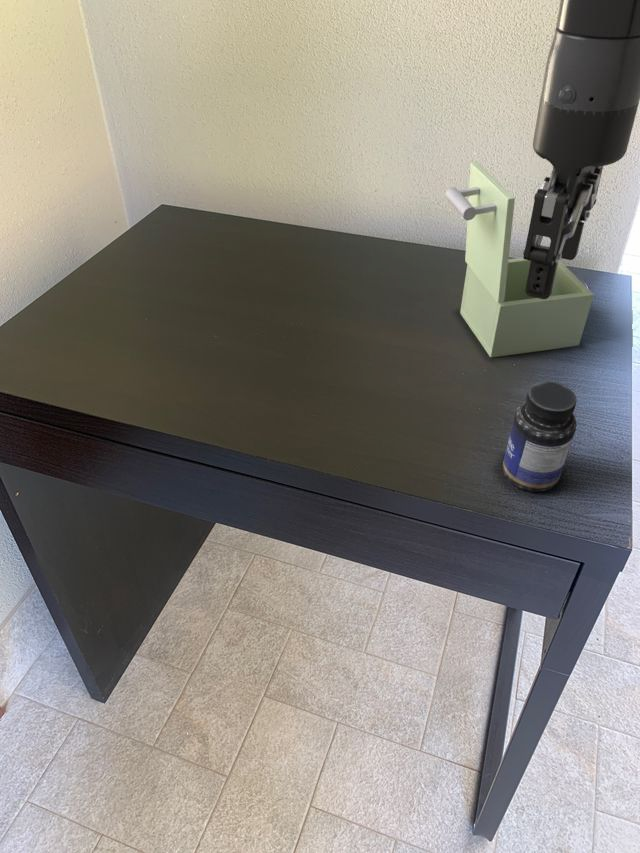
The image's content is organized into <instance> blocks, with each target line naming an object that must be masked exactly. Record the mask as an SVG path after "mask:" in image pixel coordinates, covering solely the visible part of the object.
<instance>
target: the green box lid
mask: <svg viewBox="0 0 640 853" xmlns="http://www.w3.org/2000/svg"><path fill="white" fill-rule="evenodd" d="M469 168H470V170H469V187H468V188H464V189H458V188H457V187H449V188H448V189H447V190H446V192H445V198H446V199H447V201H449V203H450V205H452V206H453V208H454V209H455V210H456V211H457V213H459V214H460V216H461V217H462V218H463V219H464V220H465V221H467V222H466V238H465V240H466V241H465V256H464V258H465V259H464V262H465V263H466V264H468V265H469V267H470V268H471V269H472V271H473V272H474V273H475V274H476V276H477V277H478V278H479V280H480V281H481V282H482V283H483V285H484V286H485V287H486V289H487V290H488V291H489V292H490V294H491V295H492V296H493V298H494V299H495V300H496V301H497V303H502V302H504V298H505V289H506V279H507V269H508V260H509V259H510V249H511V240H512V231H513V230H512V229H513V221H514V210H515V199H516V197H515V196H514V195H513V194H511V193H510V192H509V191H508V190H507V189H506V188H505V187H504V186H503V185H502V184H501V183H500V182H499V181H498V180H497V179H496V178H495V177H494V176H493V175H491V173H490V172H489V171H488V170H487V169H485V168H484V167H483V165H481V163H479V161H472V162H470V167H469ZM467 197H468V199H467Z"/></svg>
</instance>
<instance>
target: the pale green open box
mask: <svg viewBox="0 0 640 853" xmlns="http://www.w3.org/2000/svg"><path fill="white" fill-rule="evenodd" d="M530 263H531V261H530V260H525V259H524V257H518V258H509V260H508V269H507V279H506V289H505V298H504V302H502V303H497V301H496V300H495V299H494V298H493V296H492V295H491V294H490V292H489V291H488V290H487V289H486V287H485V286H484V285H483V283H482V282H481V281H480V280H479V278H478V277H477V276H476V274H475V273H474V272H473V271H472V269H471V268H470V267H469V265H468V264H467V263H466V264H467V265H466V271H465V278H464V285H463V292H462V299H461V306H460V311H459V314H460V315H461V317H462V318H463V320H464V321H465V322H466V324H467V325H468V327H469V329H470V330H471V331H472V333H473V334H474V335H475V337H476V338H477V340H478V341H479V343H480V344H481V346H482V348H483V349H484V350H485V352H486V353H487V355H488V357H489V358H499V357H505V356H513V355H519V354H526V353H528V354H529V353H534V352H541V351H548V350H556V349H565V348H572V347H579V346H580V344H581V340H582V337H583V333H584V330H585V326H586V324H587V320H588V317H589V313H590V310H591V307H592V303H593V298H594V296H595V294H594V293H593V292H592V291H591V290H590V289H589V288H588V287H587V286H586V285H585V284H584V283H583V282H582V281H581V280H580V279H579V278H578V277H577V276H576V275H575V274H574V273H573V272H572V271H571V270H570V269H569V268H568V267H567V266H566V265H565V264H564V263H563V262H562V261H561V259H560V260H559V261H558V265H557V270H556V275H555V279H554V284H553V288H552V293H551V295H550V296H549V297H548V298H547V299H540V298H536V297H532V296H529V295H527V294H526V292H525V290H526V284H527V279H528V274H529V268H530Z"/></svg>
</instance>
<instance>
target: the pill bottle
mask: <svg viewBox="0 0 640 853" xmlns="http://www.w3.org/2000/svg"><path fill="white" fill-rule="evenodd" d="M576 406H577V396H576V393H575V392H574V391H573V390H571V388H569V387H568V386H566V385H564V384H562V383H559V382H556V381H548V380H547V381H546V380H545V381H539V382H536V383H534V384H532V385H531V386H530V387H529V388H528V391H527V394H526V397H525V401H524V402H523V403H520V405H519V406H518V407H517V409H516V410H515V413H514V415H513V416H514V417H513V421H512V426H511V429H510V432H509V436H508V440H507V446H506V449H505V454H504V457H503V462H502V473H503V475H504V476H505V478H506V479H507V480H508V481H509V482H510V484H512V485H513V486H514V487H516V488H518V489H520V490H523V491H527V492H532V493H540V492H541V493H542V492H547V491H549V490H551V489H553V488H554V487H555V486H556V485H557V484H558V483H559V480H560V478H561V476H562V472H563V470H564V468H565V463H566V461H567V457H568V455H569V452H570V448H571V445H572V443H573V440H574V436H575V433H576V430H577V418H576V416H575V415H574V411H575V409H576Z"/></svg>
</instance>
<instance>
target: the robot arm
mask: <svg viewBox="0 0 640 853" xmlns="http://www.w3.org/2000/svg"><path fill="white" fill-rule="evenodd" d="M639 104H640V0H560V2H559V8H558V12H557V19H556V24H555V30H554V35H553V38H552V41H551V45H550V49H549V51H548V56H547V58H546V63H545V69H544V75H543V80H542V87H541V93H540V98H539V104H538V109H537V116H536V121H535V122H536V123H535V128H534V134H533V140H532V149H533V151H534V153H535V154H536V155H537V156H538V157H539V158H541V159H542V160H546V161H548V162H549V163H550V164H551V165H552V171H551V173H550V176H545V177H544V179H543V182H542V185H541V188H538V189H537V191H536V192H535V194H534V195H533V196H534V197H533V199H534V201H533V206H532V211H531V217H530V222H529V227H528V232H527V236H526V242H525V246H524V249H523V253H522V255H523V258H524V259H525V260H530V261H531V263H530V268H529V274H528V279H527V284H526V290H525V292H526V294H527V295H529V296H532V297H536V298H540V299H547V298H548V297H549V296H550V295H551V293H552V288H553V284H554V279H555V275H556V270H557V265H558V261H559V260H560V261H561V260H563V259H564V260H567V261H573V260H574V259H576V257H577V255H578V251H579V248H580V244H581V239H582V235H583V232H584V231H583V230H584V227H585V222H587V221H588V219H589V218H590V216H591V212H590V211H591V210H592V209H593V208H594V206H595V205H596V203H597V195H598V191H599V187H600V182H601V179H602V178H601V177H602V174H603V169H604V167H606V166H609V165H613V164H615V163H617V162H619V161H620V160H622V159H623V158H624V157H625V155H626V153H627V150H628V147H629V144H630V143H629V142H630V138H631V136H632V135H631V134H632V132H633V127H634V123H635V120H636V117H637V116H636V115H637V112H638V108H639ZM543 238H549V239H550V243H549V246H546V245H543V244H542V241H543Z"/></svg>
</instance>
